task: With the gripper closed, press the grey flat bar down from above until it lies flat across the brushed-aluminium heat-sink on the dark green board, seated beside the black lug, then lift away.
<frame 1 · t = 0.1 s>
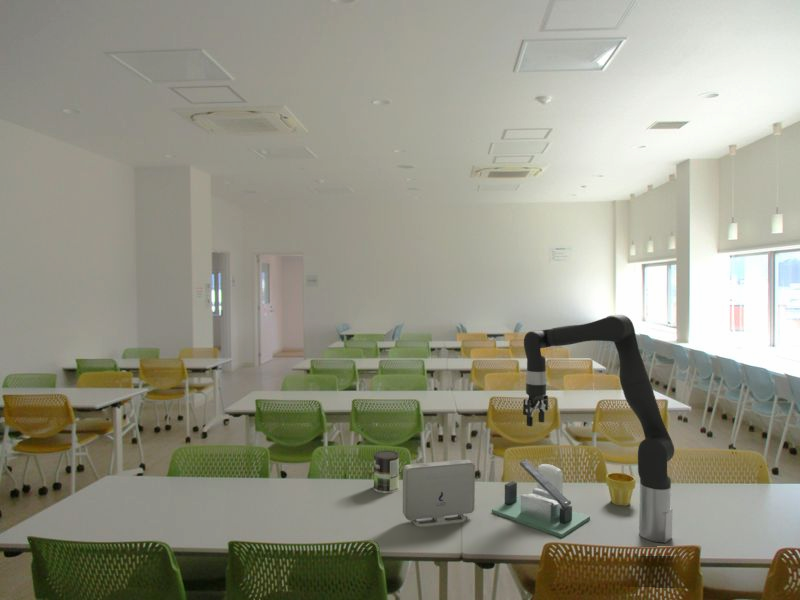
hand: (535, 424, 215), 29 cm above the table, fingers open, 8 cm apart
network device: (438, 519, 197), on the table
grey flat bar: (544, 483, 199), point 12 cm above the table, hinge at 32.0°
plant pot: (620, 502, 213), on the table
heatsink: (542, 516, 200), resting on mainboard
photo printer: (549, 496, 219), on the table
coffee can: (386, 489, 226), on the table
mainboard: (540, 516, 200), on the table
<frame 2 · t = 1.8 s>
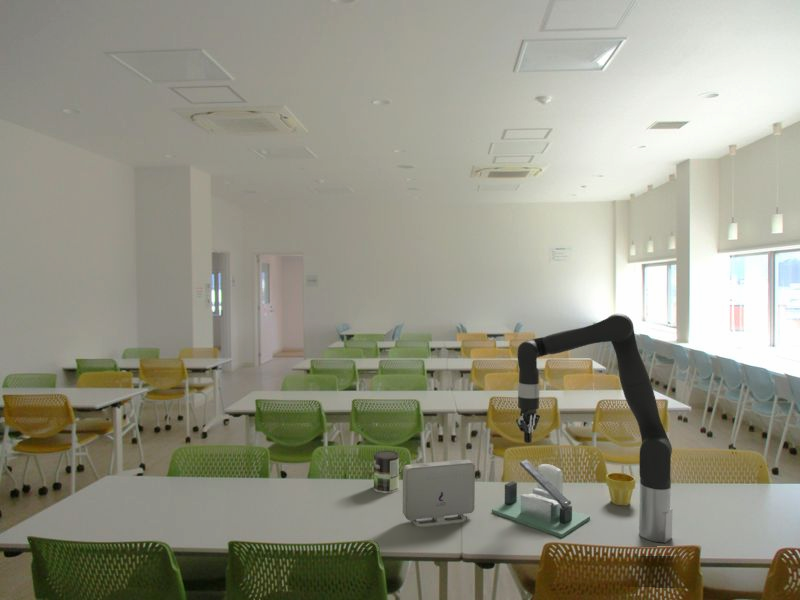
hand: (527, 442, 203), 26 cm above the table, fingers closed
nothing on the table moved.
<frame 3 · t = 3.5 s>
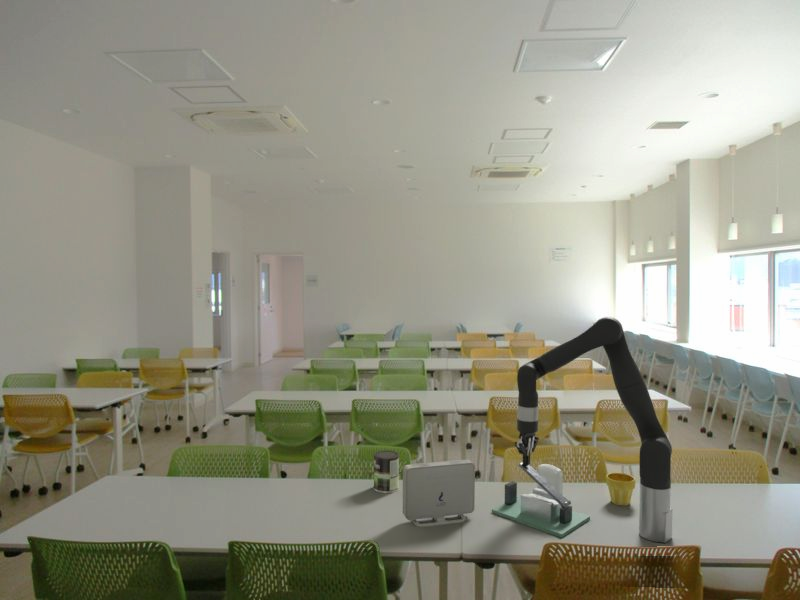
hand: (526, 464, 204), 17 cm above the table, fingers closed
grey flat bar: (544, 483, 199), point 12 cm above the table, hinge at 29.7°, touching gripper
everything else where it was.
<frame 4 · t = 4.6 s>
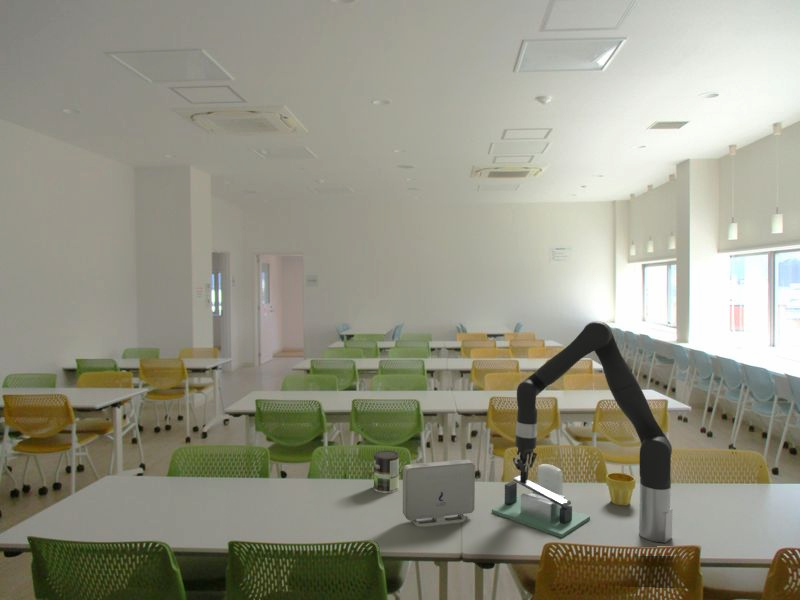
hand: (523, 480, 205), 11 cm above the table, fingers closed
grey flat bar: (541, 491, 200), point 9 cm above the table, hinge at 11.4°, touching gripper
everything else where it was.
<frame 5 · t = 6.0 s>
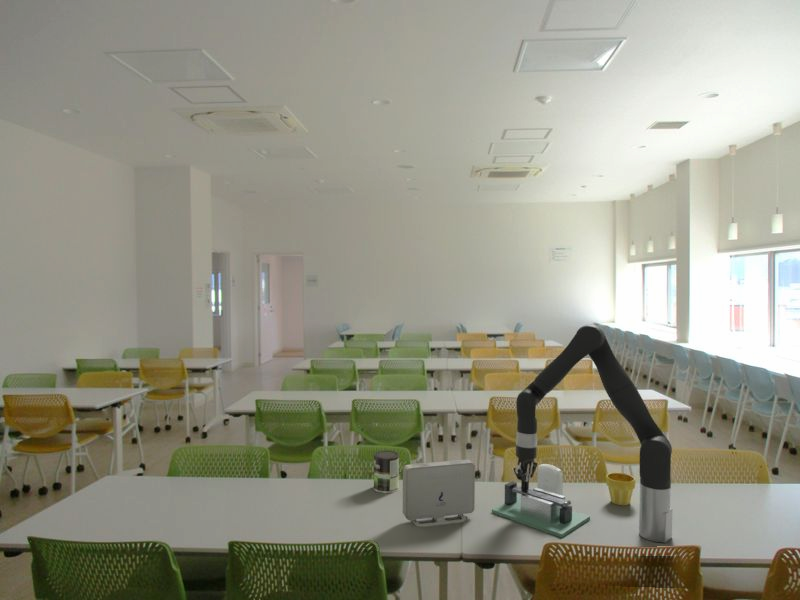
hand: (524, 490, 204), 8 cm above the table, fingers closed
grey flat bar: (540, 496, 200), point 7 cm above the table, hinge at -0.1°, touching gripper
everything else where it was.
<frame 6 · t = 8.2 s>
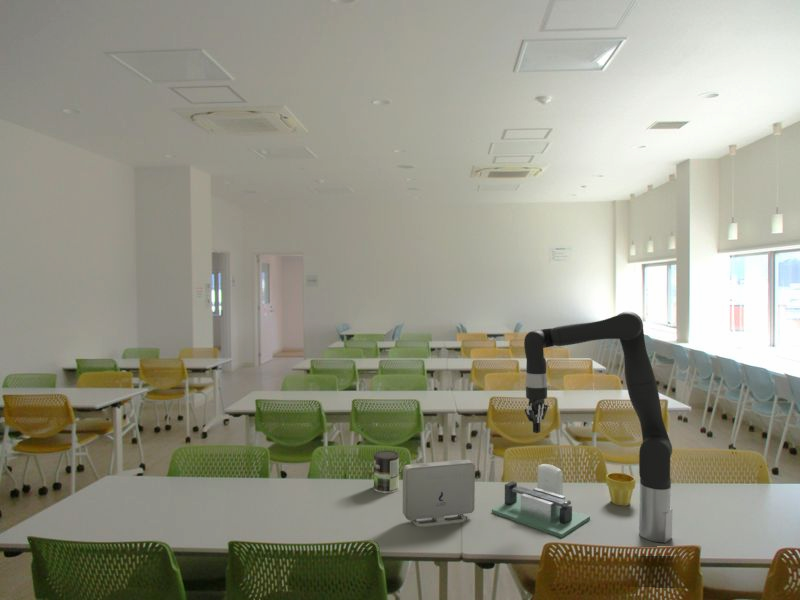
hand: (536, 432, 203), 29 cm above the table, fingers closed
grey flat bar: (540, 496, 200), point 7 cm above the table, hinge at -0.1°
everything else where it was.
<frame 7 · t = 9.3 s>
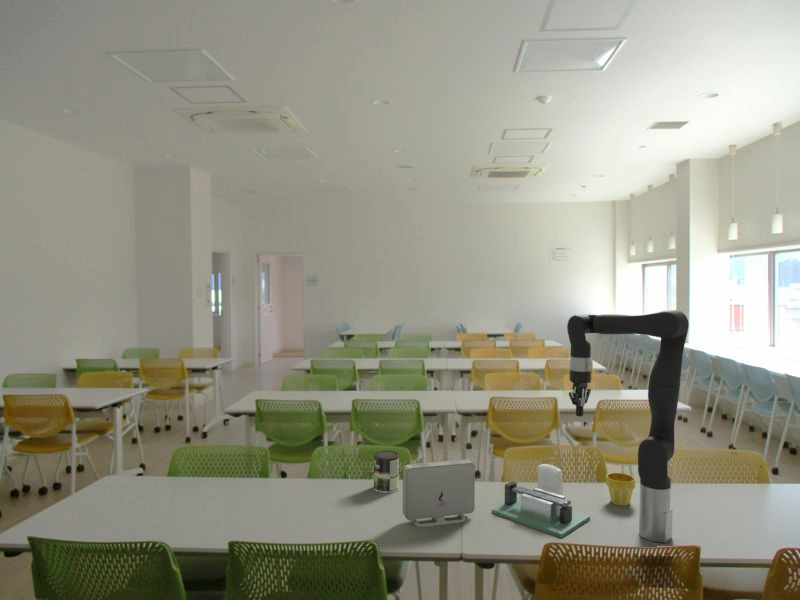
hand: (579, 415, 205), 35 cm above the table, fingers closed
nothing on the table moved.
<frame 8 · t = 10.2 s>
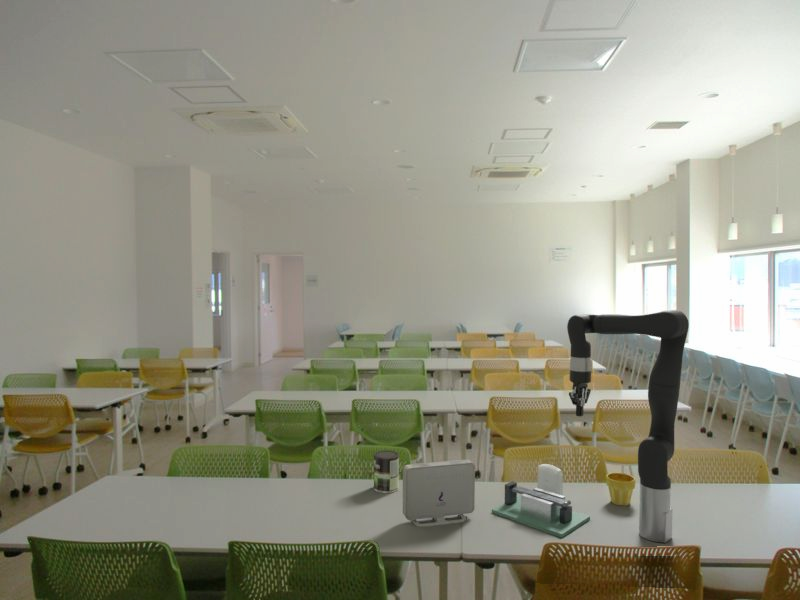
hand: (579, 415, 205), 35 cm above the table, fingers closed
nothing on the table moved.
at the end: grey flat bar at +0° (first picture: +32°) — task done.
